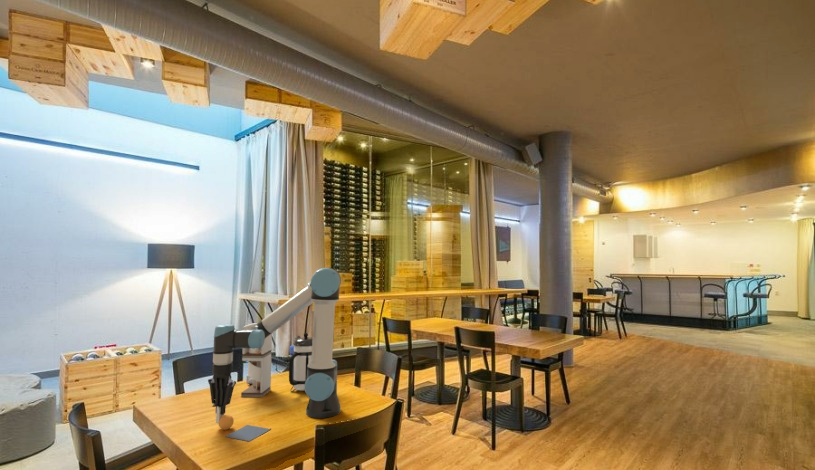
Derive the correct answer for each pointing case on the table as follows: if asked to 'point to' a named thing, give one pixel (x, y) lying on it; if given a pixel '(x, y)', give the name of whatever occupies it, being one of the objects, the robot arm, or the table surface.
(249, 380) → the charger
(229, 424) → the ball
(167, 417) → the table surface
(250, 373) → the wooden cubby shelf
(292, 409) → the table surface
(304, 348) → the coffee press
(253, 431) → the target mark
